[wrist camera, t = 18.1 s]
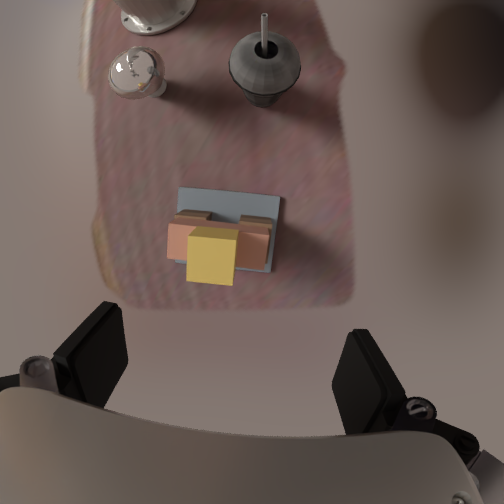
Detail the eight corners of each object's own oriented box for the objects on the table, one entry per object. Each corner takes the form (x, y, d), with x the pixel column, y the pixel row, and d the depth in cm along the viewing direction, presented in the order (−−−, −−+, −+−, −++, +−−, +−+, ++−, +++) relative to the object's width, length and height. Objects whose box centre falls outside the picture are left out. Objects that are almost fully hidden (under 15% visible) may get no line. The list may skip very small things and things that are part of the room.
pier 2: (241, 214, 39) (239, 221, 34) (270, 217, 39) (272, 224, 34) (237, 249, 40) (235, 260, 35) (265, 252, 40) (267, 263, 36)
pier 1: (184, 209, 39) (174, 214, 34) (212, 211, 39) (206, 217, 34) (182, 243, 40) (173, 253, 35) (209, 246, 40) (203, 257, 35)
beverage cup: (242, 122, 36) (231, 76, 17) (230, 76, 34) (209, 3, 15) (294, 110, 35) (331, 60, 16) (280, 65, 33) (301, -12, 14)
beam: (267, 227, 34) (269, 235, 30) (263, 259, 35) (264, 270, 32) (178, 217, 34) (168, 223, 30) (176, 248, 35) (167, 258, 31)
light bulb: (128, 101, 35) (87, 83, 23) (151, 62, 33) (118, 32, 21) (165, 117, 36) (132, 100, 24) (190, 77, 34) (166, 45, 22)
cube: (197, 226, 30) (187, 235, 26) (238, 229, 30) (236, 240, 26) (195, 265, 31) (186, 280, 27) (235, 269, 32) (232, 285, 27)
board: (180, 186, 39) (178, 187, 38) (279, 196, 39) (280, 196, 38) (176, 260, 42) (175, 262, 41) (269, 270, 42) (270, 272, 41)
